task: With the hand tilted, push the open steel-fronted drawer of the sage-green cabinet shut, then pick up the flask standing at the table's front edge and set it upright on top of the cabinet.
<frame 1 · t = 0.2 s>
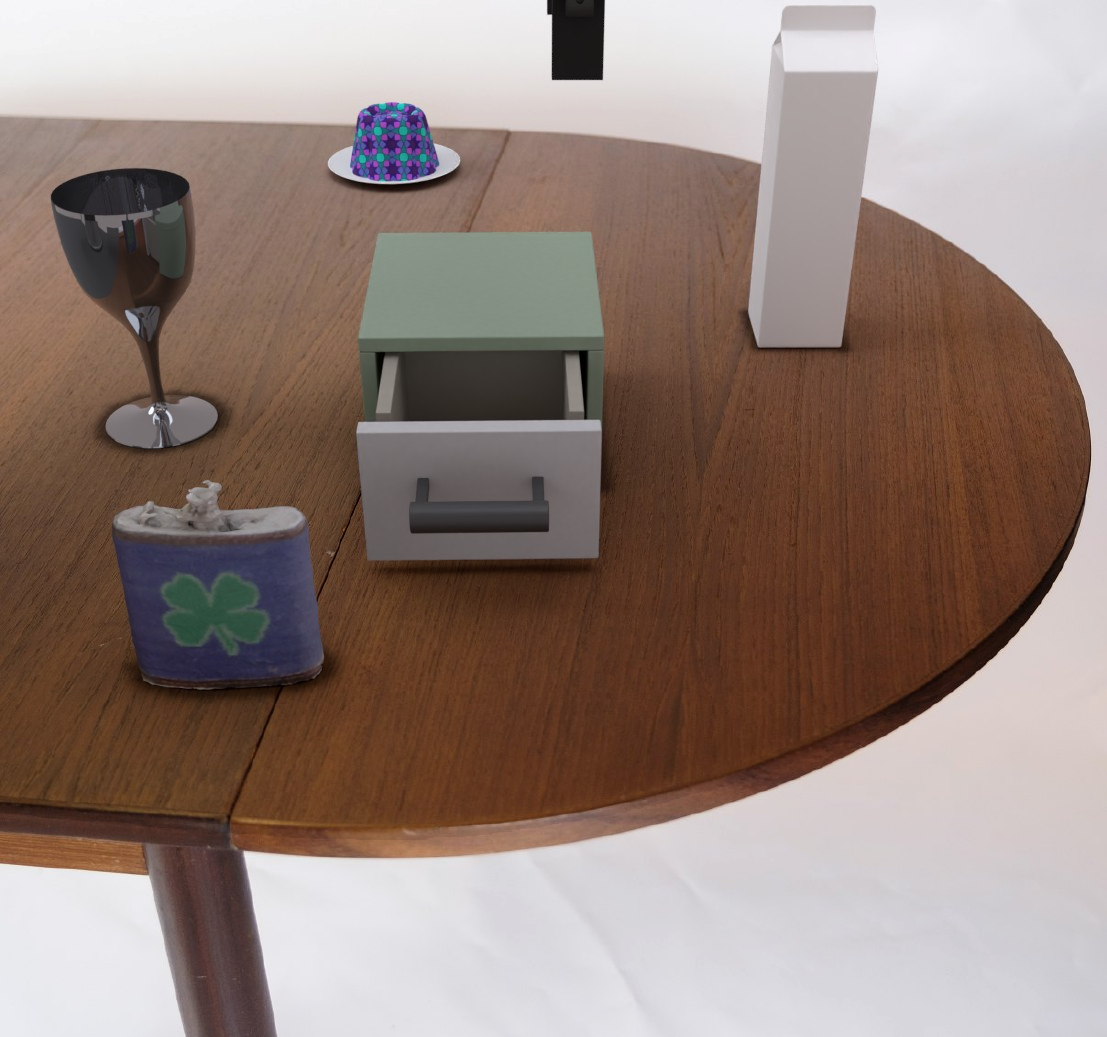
hand: (573, 44, 82), 22 cm above the table, tool pointing down, fingers open, 13 cm apart
cabinet: (487, 425, 93), on the table
flask: (232, 674, 72), on the table
pudding: (394, 171, 132), on the table
wine glass: (162, 423, 93), on the table
milk: (793, 332, 104), on the table
drawer: (482, 449, 80), point 5 cm above the table, slide at 8.0 cm
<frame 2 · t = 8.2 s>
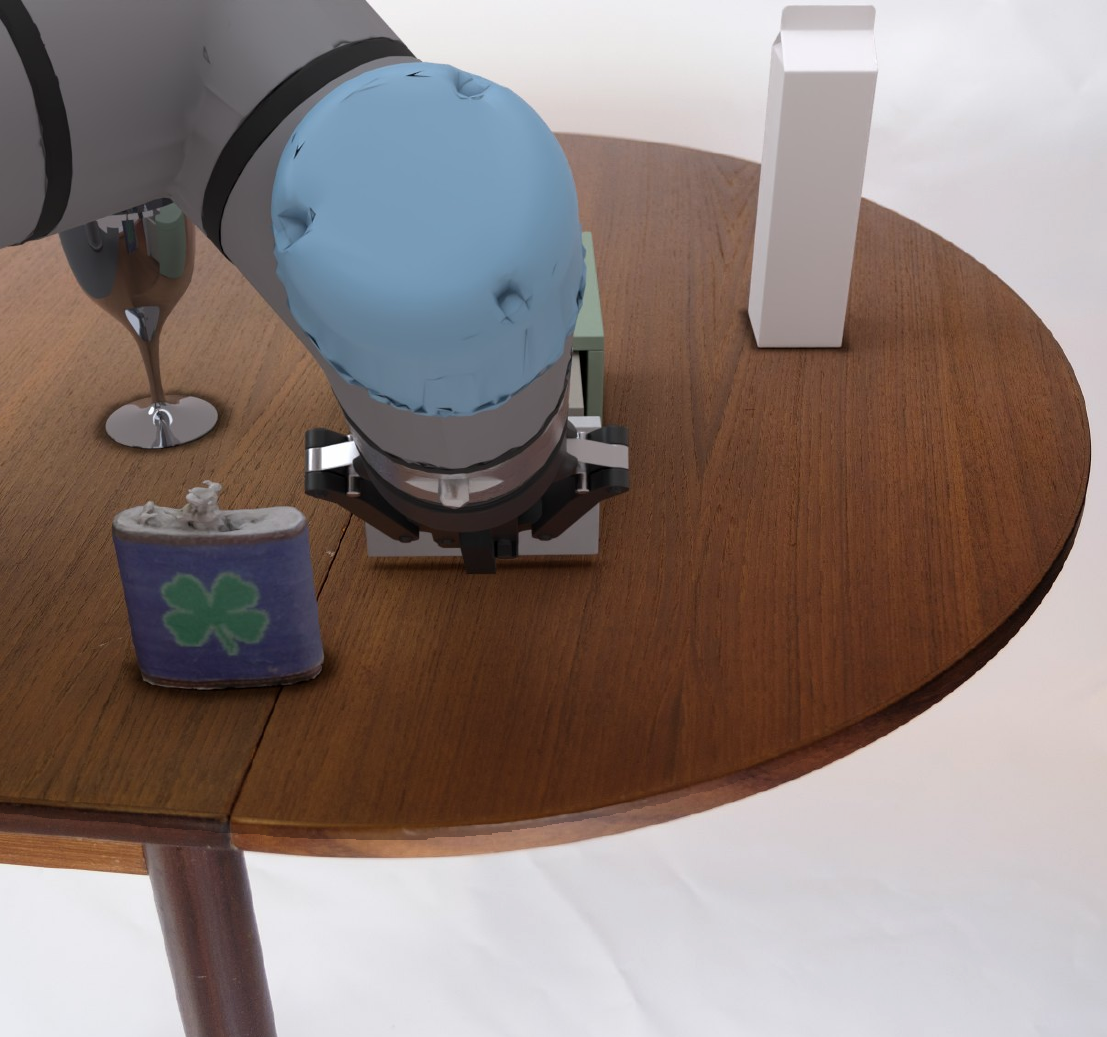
hand: (481, 547, 72), 5 cm above the table, tool tilted 45°, fingers closed
drawer: (482, 446, 81), point 5 cm above the table, slide at 7.6 cm, touching gripper
everything else where it was.
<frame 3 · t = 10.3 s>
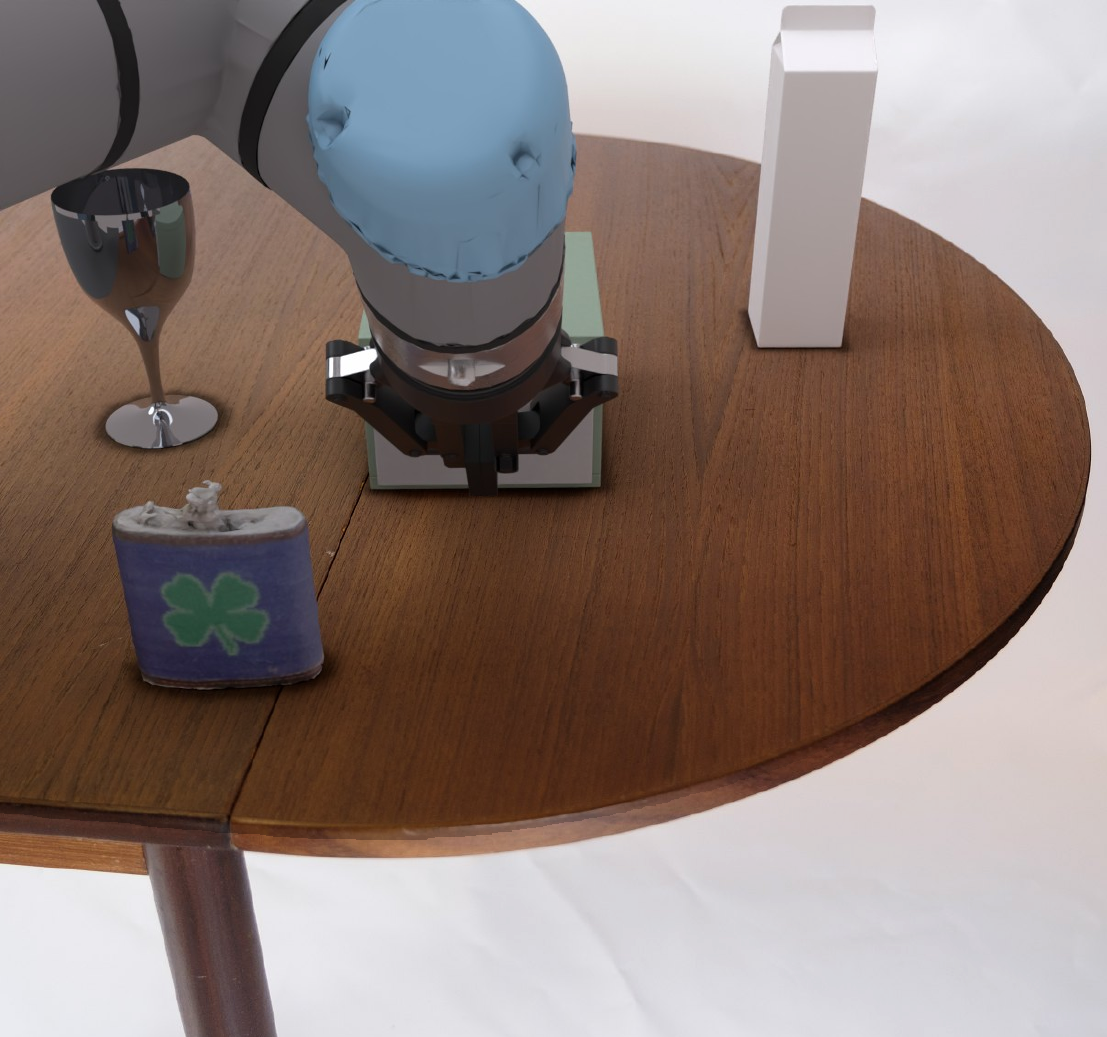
hand: (483, 472, 78), 5 cm above the table, tool tilted 45°, fingers closed
drawer: (484, 384, 87), point 5 cm above the table, slide at 0.0 cm, touching cabinet, gripper
everything else where it was.
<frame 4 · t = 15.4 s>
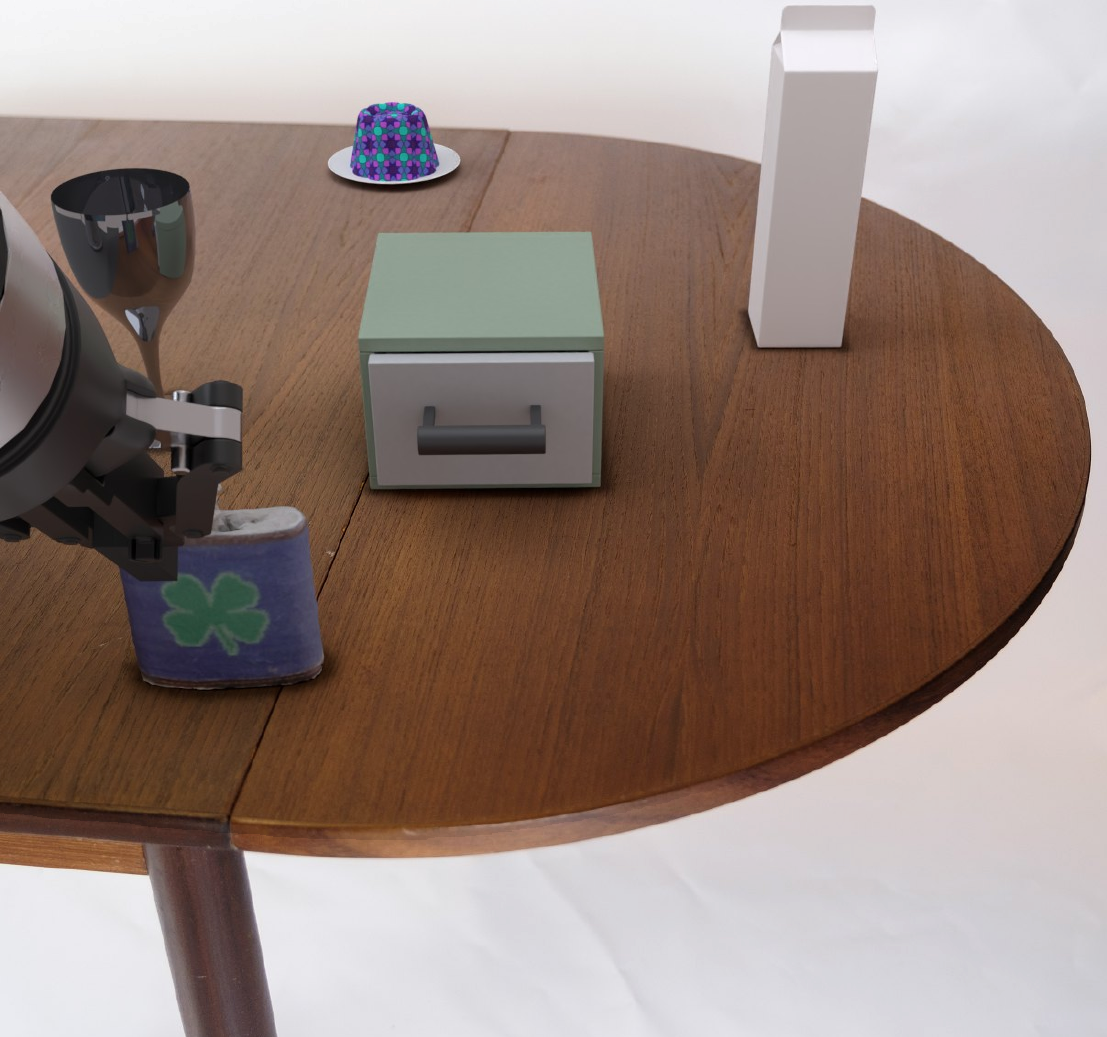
hand: (159, 547, 57), 13 cm above the table, tool tilted 45°, fingers closed
drawer: (484, 384, 87), point 5 cm above the table, slide at 0.0 cm, touching cabinet
everything else where it was.
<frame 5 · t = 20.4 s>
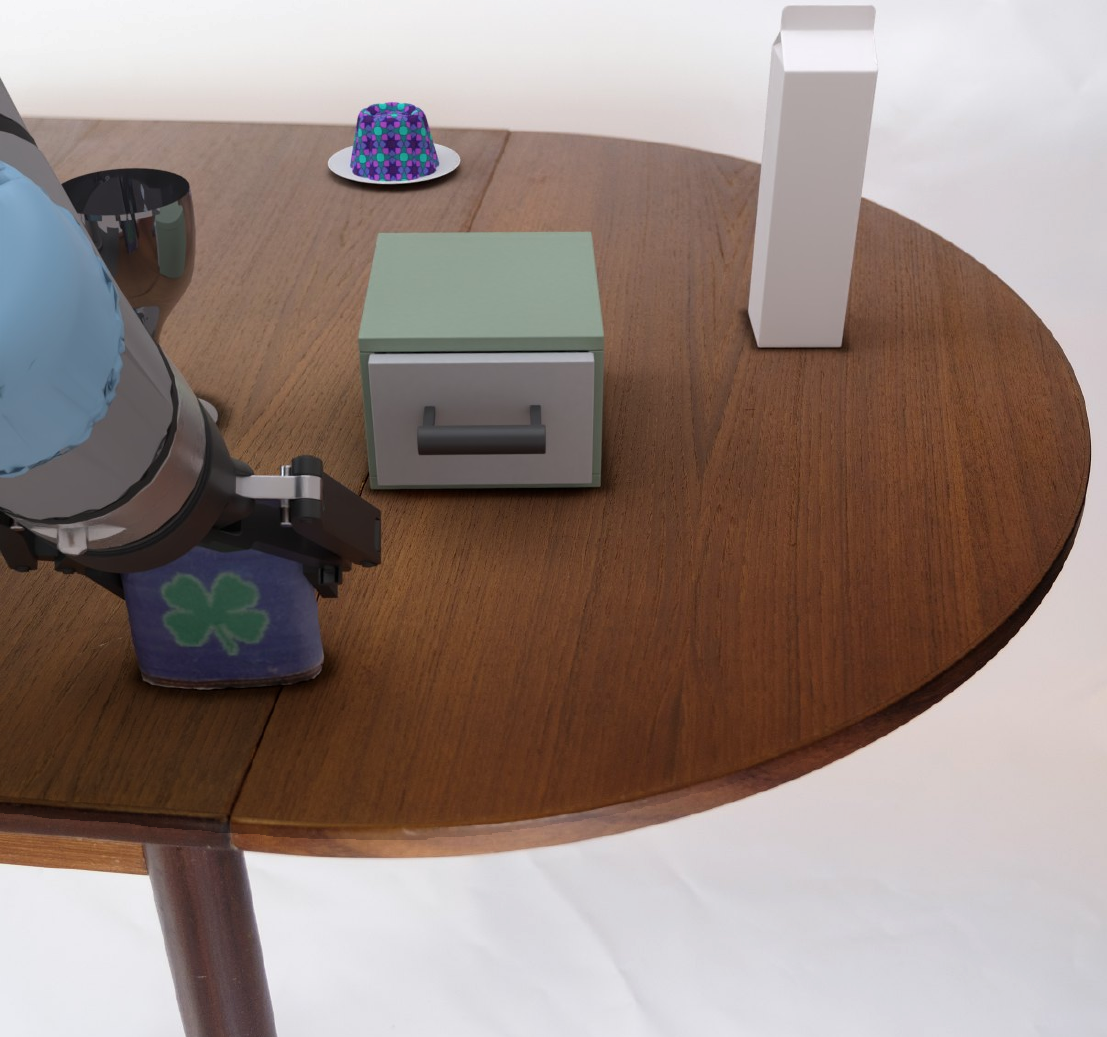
hand: (231, 572, 72), 4 cm above the table, tool tilted 45°, fingers closed on flask, 9 cm apart
flask: (232, 674, 72), on the table, touching gripper
everything else where it was.
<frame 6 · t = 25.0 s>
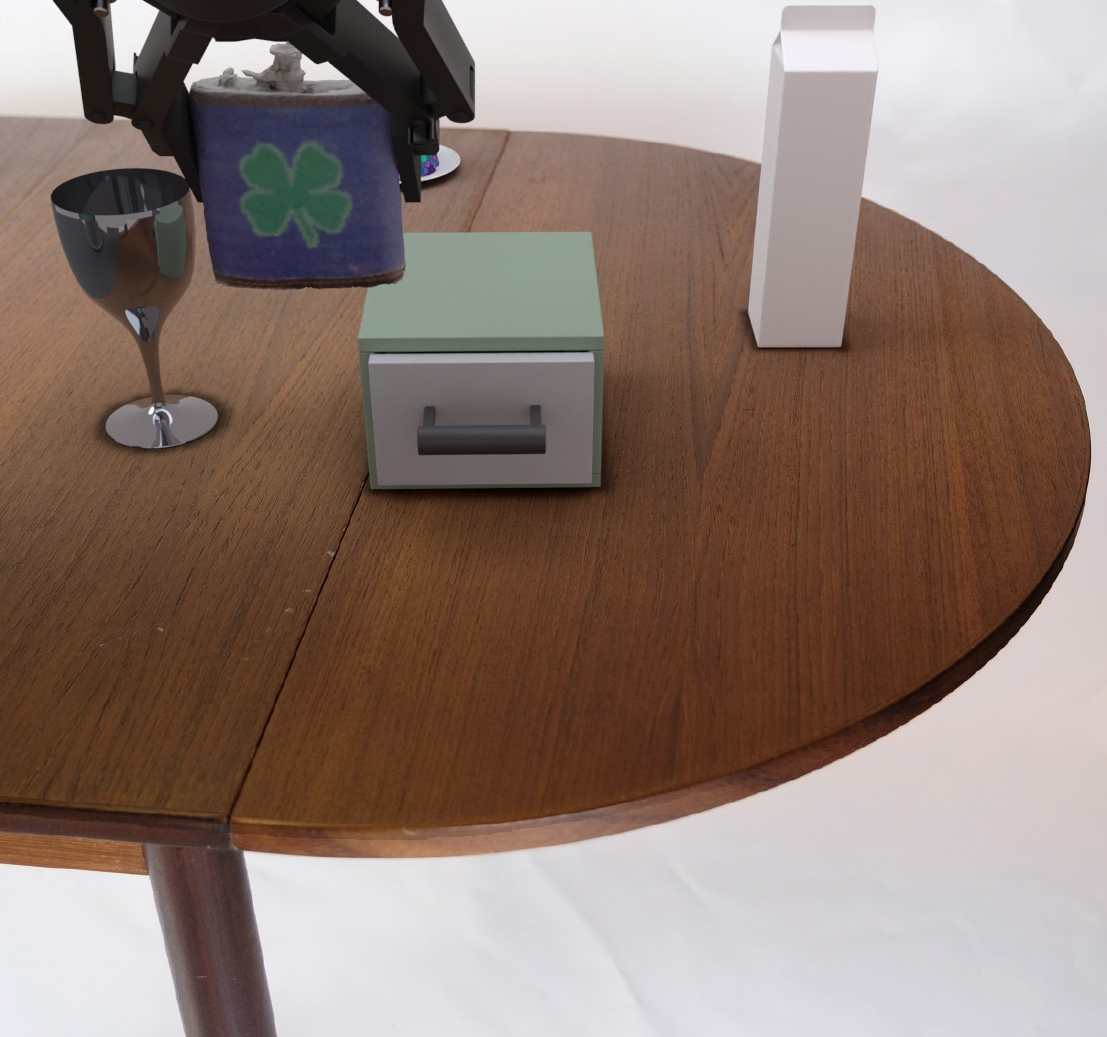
hand: (309, 175, 69), 21 cm above the table, tool tilted 45°, fingers closed on flask, 9 cm apart
flask: (309, 282, 69), point 17 cm above the table, touching gripper
everything else where it was.
when the fingers open (14 cm above the table, at t = 29.9 s): flask stays where it is, resting on cabinet.
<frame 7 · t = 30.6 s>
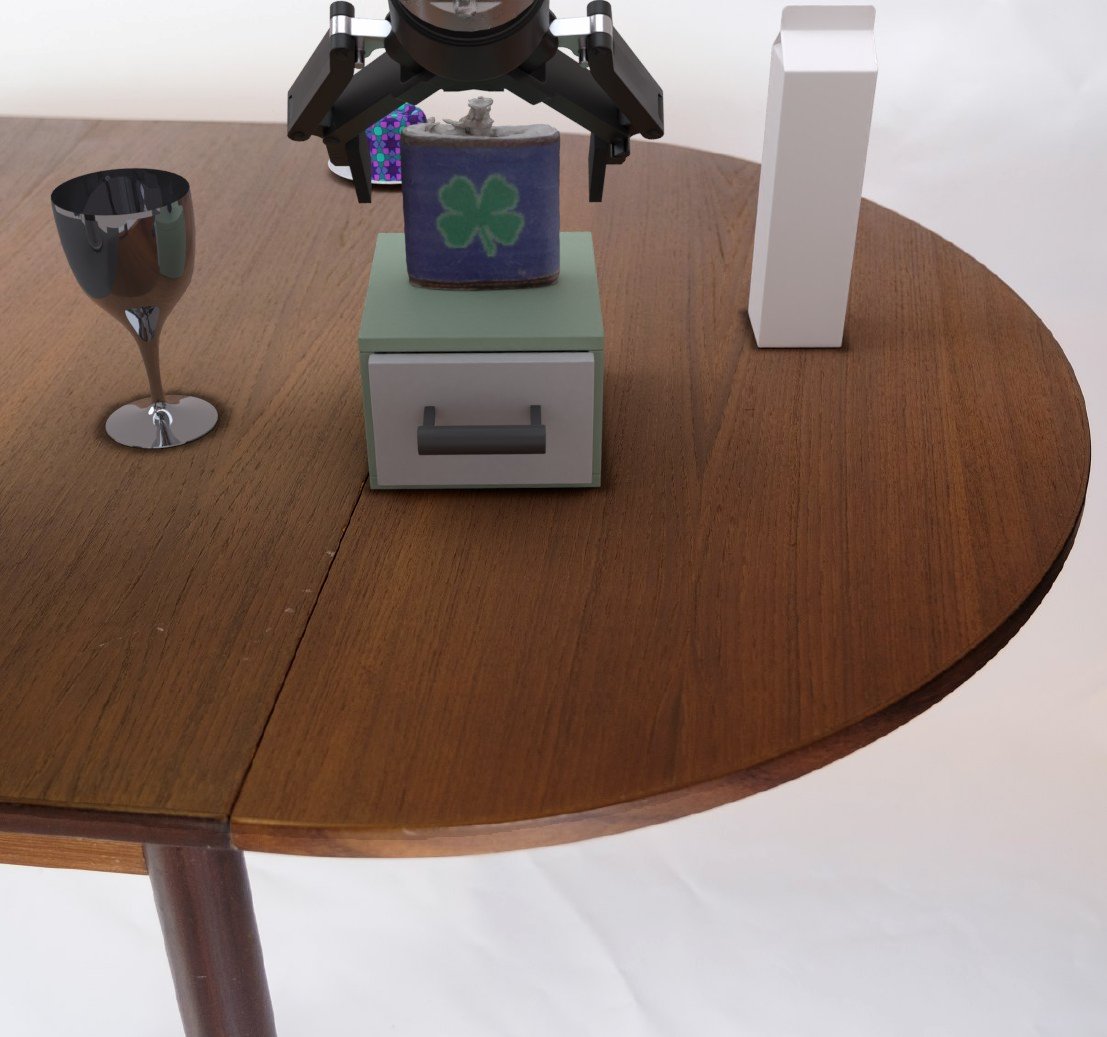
hand: (480, 181, 85), 15 cm above the table, tool tilted 45°, fingers open, 13 cm apart
flask: (483, 284, 87), point 10 cm above the table, touching cabinet
everything else where it was.
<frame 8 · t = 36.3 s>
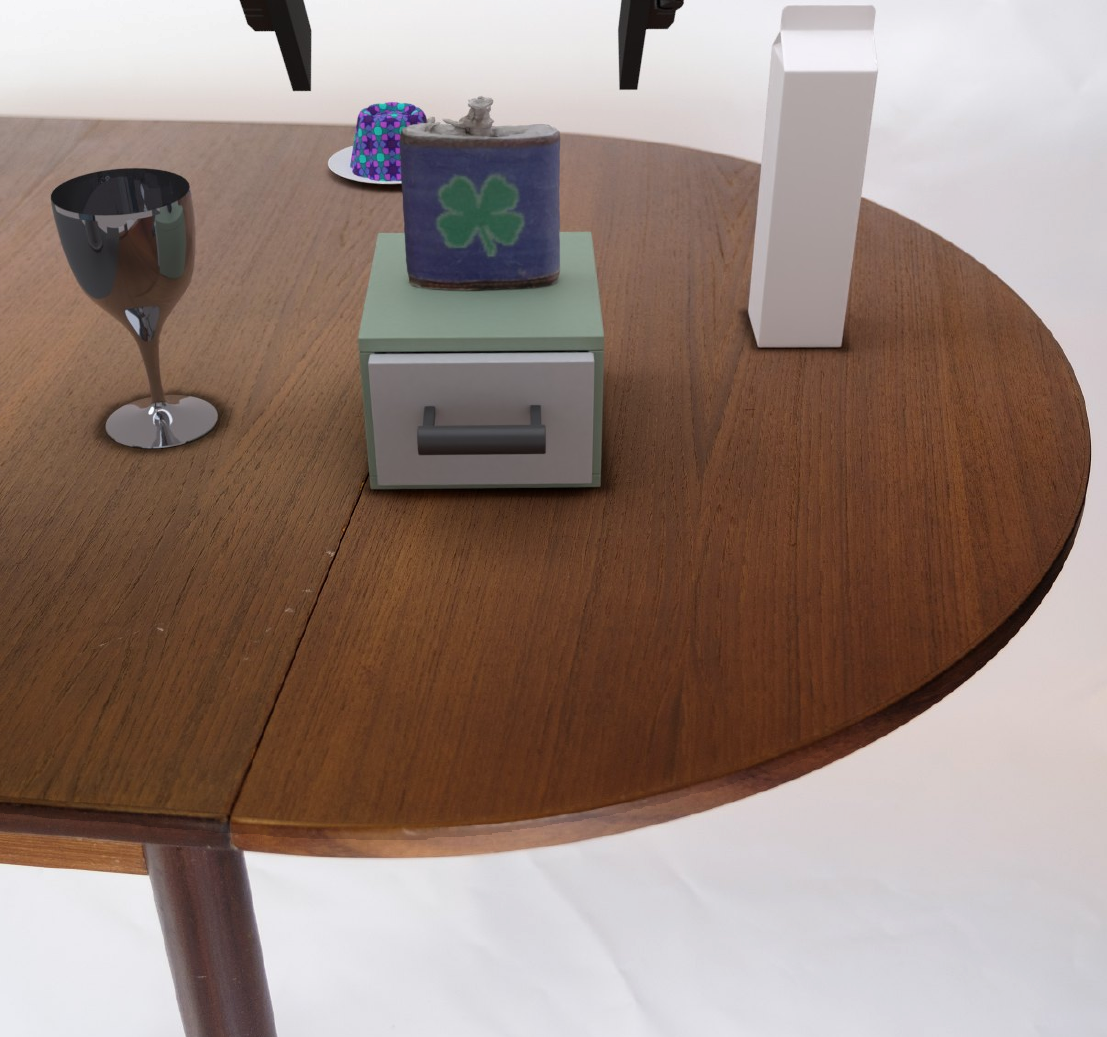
hand: (465, 60, 60), 28 cm above the table, tool tilted 45°, fingers open, 13 cm apart
nothing on the table moved.
at the end: drawer slide at 0.0 cm; flask inside the target area on the cabinet (0.1 cm from its centre), point 9.6 cm above the cabinet's base; flask tilted 0° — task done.
